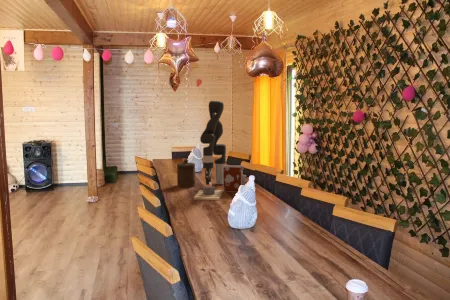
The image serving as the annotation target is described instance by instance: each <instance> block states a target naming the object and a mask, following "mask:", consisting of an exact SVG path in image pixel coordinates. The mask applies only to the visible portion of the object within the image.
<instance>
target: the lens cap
mask: <svg viewBox="0 0 450 300" xmlns="http://www.w3.org/2000/svg"><path fill="white" fill-rule="evenodd" d="M212 184H213V183H212V181H211V182H209V185H206V184H205V186H206V188H212V186H213V185H212Z"/></svg>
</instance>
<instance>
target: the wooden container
mask: <svg viewBox="0 0 450 300" xmlns="http://www.w3.org/2000/svg"><path fill="white" fill-rule="evenodd" d="M176 167H177V168H176V169H177V171H176V178H177V180H176V181H177V183H176V184H177V186H178V187H179V188H192V187H195V186H196V164H195V163H194V162H189V159H188V158H185V159H183V162H179V163H177V166H176Z"/></svg>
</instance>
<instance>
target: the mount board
mask: <svg viewBox="0 0 450 300" xmlns="http://www.w3.org/2000/svg"><path fill="white" fill-rule="evenodd" d="M223 193H224V189H222V190H221V189H217V190H216V189H215V194H214V195H204V194H203V189H199V190H198V191H197V193H196V194H195V195H194V196H193V200H194V201H195V200H197V201H199V200H201V201H207V200H208V201H219V200H220V199H221V197H222V195H223Z"/></svg>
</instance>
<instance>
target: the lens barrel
mask: <svg viewBox="0 0 450 300" xmlns="http://www.w3.org/2000/svg"><path fill="white" fill-rule="evenodd" d="M215 188H216V187H215V186H213V185H212V188H206V185H204V186H203V187H202V190H203V194H204V195H214V194H215V190H216V189H215Z"/></svg>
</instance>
